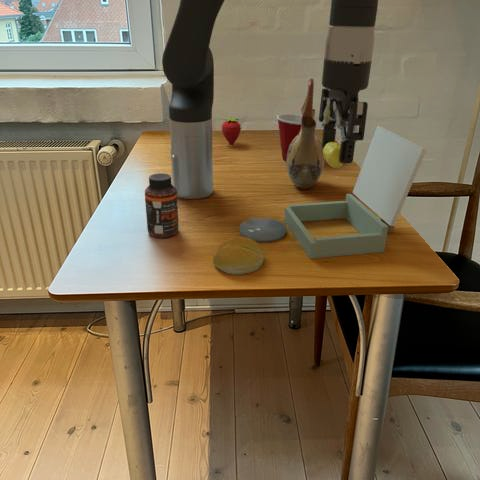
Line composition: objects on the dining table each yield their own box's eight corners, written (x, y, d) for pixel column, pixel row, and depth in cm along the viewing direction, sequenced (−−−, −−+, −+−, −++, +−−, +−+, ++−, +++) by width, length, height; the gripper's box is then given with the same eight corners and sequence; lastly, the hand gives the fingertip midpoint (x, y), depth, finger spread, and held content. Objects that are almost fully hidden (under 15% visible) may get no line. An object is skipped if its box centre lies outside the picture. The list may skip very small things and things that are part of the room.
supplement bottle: (165, 242, 85) (161, 184, 80) (141, 234, 88) (135, 177, 83) (185, 230, 89) (182, 174, 84) (161, 223, 92) (157, 169, 87)
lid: (422, 148, 75) (426, 149, 75) (377, 125, 89) (381, 126, 89) (390, 225, 80) (393, 226, 80) (352, 192, 94) (355, 193, 94)
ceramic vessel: (323, 199, 105) (334, 84, 93) (283, 196, 106) (290, 83, 94) (320, 175, 119) (330, 74, 108) (286, 173, 120) (292, 73, 109)
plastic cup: (314, 165, 126) (318, 121, 121) (275, 164, 127) (277, 121, 121) (310, 154, 136) (313, 113, 131) (273, 153, 136) (275, 112, 131)
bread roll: (208, 273, 76) (208, 252, 74) (223, 248, 83) (223, 228, 82) (257, 280, 74) (258, 258, 72) (267, 254, 82) (268, 234, 80)
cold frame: (309, 258, 80) (312, 232, 78) (283, 220, 94) (285, 198, 92) (383, 251, 83) (388, 226, 80) (347, 215, 96) (350, 193, 94)
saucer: (244, 243, 85) (244, 239, 84) (235, 223, 93) (235, 219, 92) (291, 239, 86) (291, 235, 86) (278, 220, 94) (278, 216, 94)
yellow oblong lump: (323, 170, 78) (325, 148, 77) (321, 156, 85) (323, 136, 84) (347, 172, 78) (351, 149, 76) (343, 158, 85) (346, 137, 83)
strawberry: (221, 148, 140) (221, 115, 135) (222, 142, 147) (221, 110, 142) (240, 148, 140) (241, 115, 136) (240, 142, 147) (240, 110, 142)
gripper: (311, 52, 79) (303, 145, 87) (343, 62, 67) (331, 169, 74) (351, 52, 80) (340, 143, 88) (390, 62, 68) (374, 167, 76)
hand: (336, 155), depth 81 cm, fingers closed on yellow oblong lump, 8 cm apart
